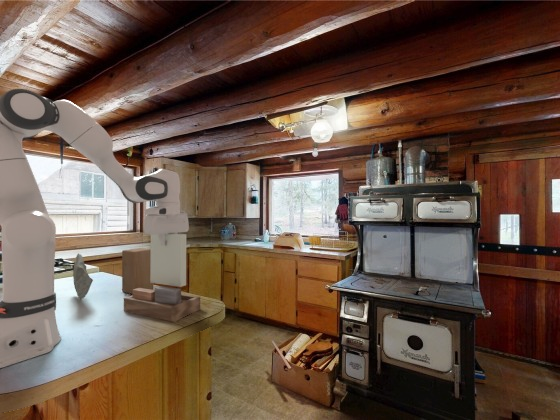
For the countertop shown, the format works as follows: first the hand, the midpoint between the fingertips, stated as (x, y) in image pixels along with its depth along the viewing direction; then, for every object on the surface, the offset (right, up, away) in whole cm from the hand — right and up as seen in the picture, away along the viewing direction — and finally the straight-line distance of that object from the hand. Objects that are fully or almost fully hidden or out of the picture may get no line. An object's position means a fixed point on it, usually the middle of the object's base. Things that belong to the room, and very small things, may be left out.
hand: (168, 244), depth 112 cm
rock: (-42, -26, +10) cm, 51 cm away
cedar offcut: (-8, -25, -3) cm, 27 cm away
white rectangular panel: (0, -16, 0) cm, 16 cm away
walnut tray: (-1, -25, -3) cm, 25 cm away
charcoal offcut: (+3, -25, -8) cm, 27 cm away
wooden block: (-24, -26, +24) cm, 43 cm away
